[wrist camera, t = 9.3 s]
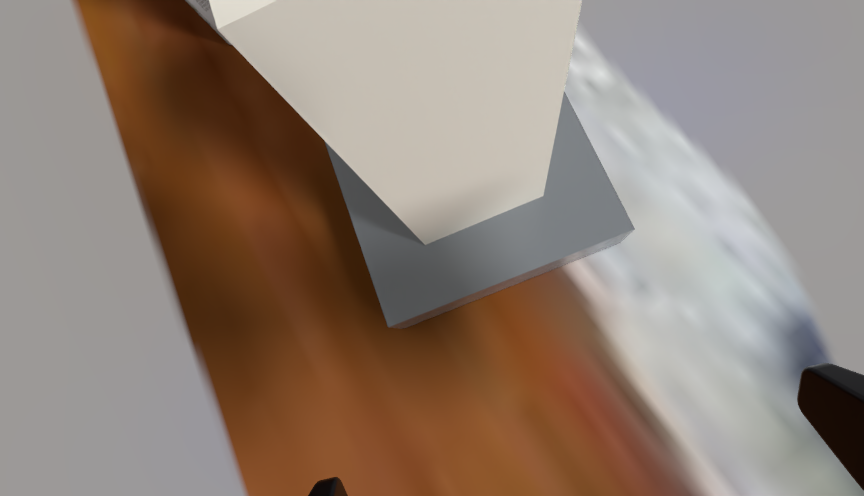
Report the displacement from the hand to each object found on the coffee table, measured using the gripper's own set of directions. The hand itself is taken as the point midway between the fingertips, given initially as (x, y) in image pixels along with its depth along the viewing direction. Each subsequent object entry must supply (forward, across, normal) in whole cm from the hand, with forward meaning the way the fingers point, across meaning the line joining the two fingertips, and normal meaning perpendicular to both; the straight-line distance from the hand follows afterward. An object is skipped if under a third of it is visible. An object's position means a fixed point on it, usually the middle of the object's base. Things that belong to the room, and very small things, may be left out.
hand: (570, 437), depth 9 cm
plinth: (+14, 0, -1) cm, 14 cm away
